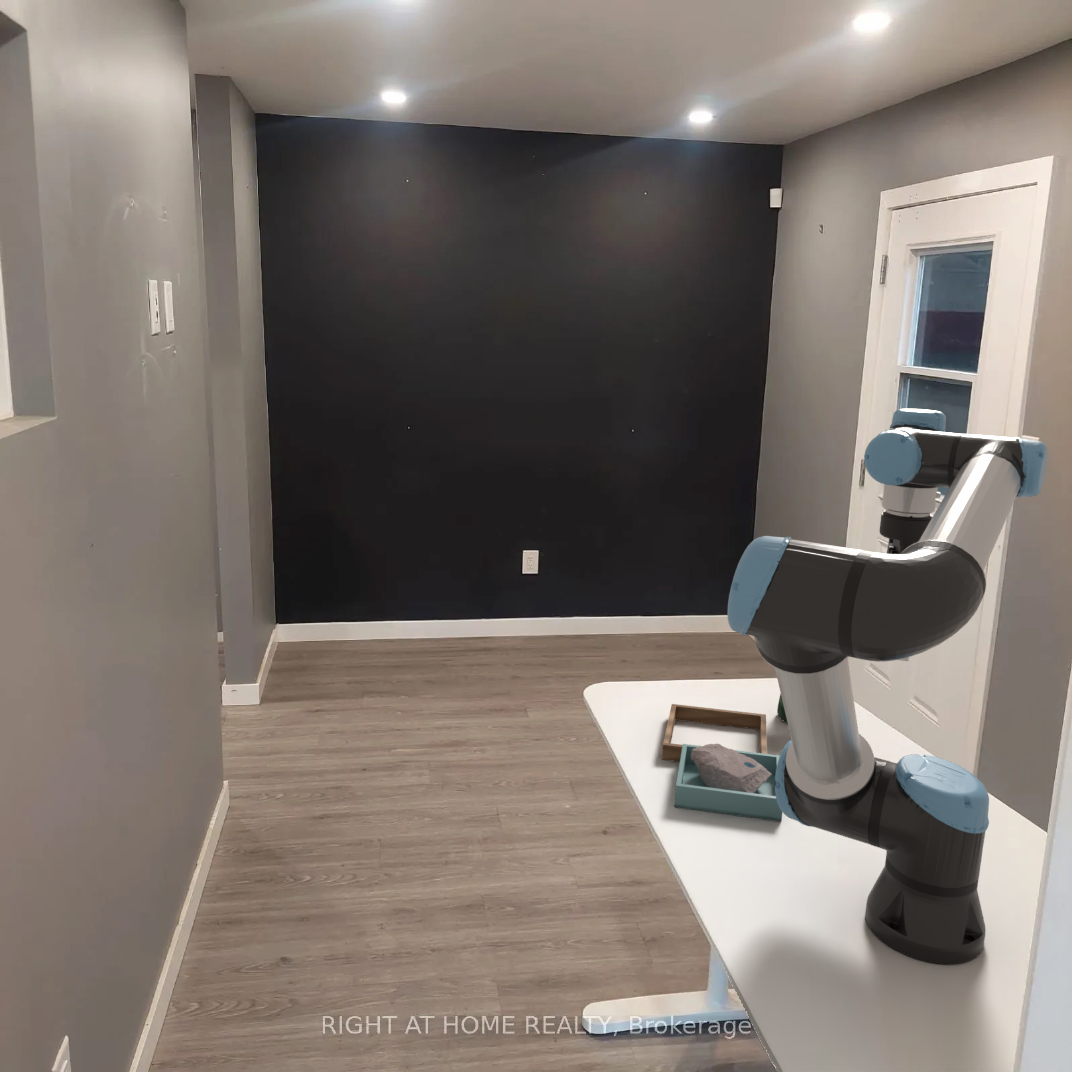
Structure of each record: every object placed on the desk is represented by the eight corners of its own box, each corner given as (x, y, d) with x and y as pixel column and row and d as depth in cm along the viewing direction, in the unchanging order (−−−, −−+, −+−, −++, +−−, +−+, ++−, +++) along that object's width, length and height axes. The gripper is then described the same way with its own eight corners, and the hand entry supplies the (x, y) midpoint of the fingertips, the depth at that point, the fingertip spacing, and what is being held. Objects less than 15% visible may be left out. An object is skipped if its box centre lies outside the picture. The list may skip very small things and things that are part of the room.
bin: (781, 821, 156) (783, 799, 156) (674, 807, 160) (675, 785, 159) (778, 775, 172) (780, 755, 171) (681, 763, 176) (683, 743, 175)
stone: (774, 791, 165) (777, 759, 164) (744, 809, 159) (746, 776, 158) (712, 765, 175) (714, 735, 174) (680, 781, 168) (682, 750, 167)
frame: (765, 772, 173) (767, 757, 173) (662, 759, 177) (662, 744, 177) (764, 728, 192) (765, 714, 192) (670, 717, 196) (671, 703, 196)
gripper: (950, 531, 131) (931, 675, 135) (920, 499, 154) (905, 623, 159) (893, 526, 132) (876, 669, 137) (872, 496, 156) (858, 618, 161)
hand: (892, 645), depth 148 cm, fingers open, 13 cm apart
